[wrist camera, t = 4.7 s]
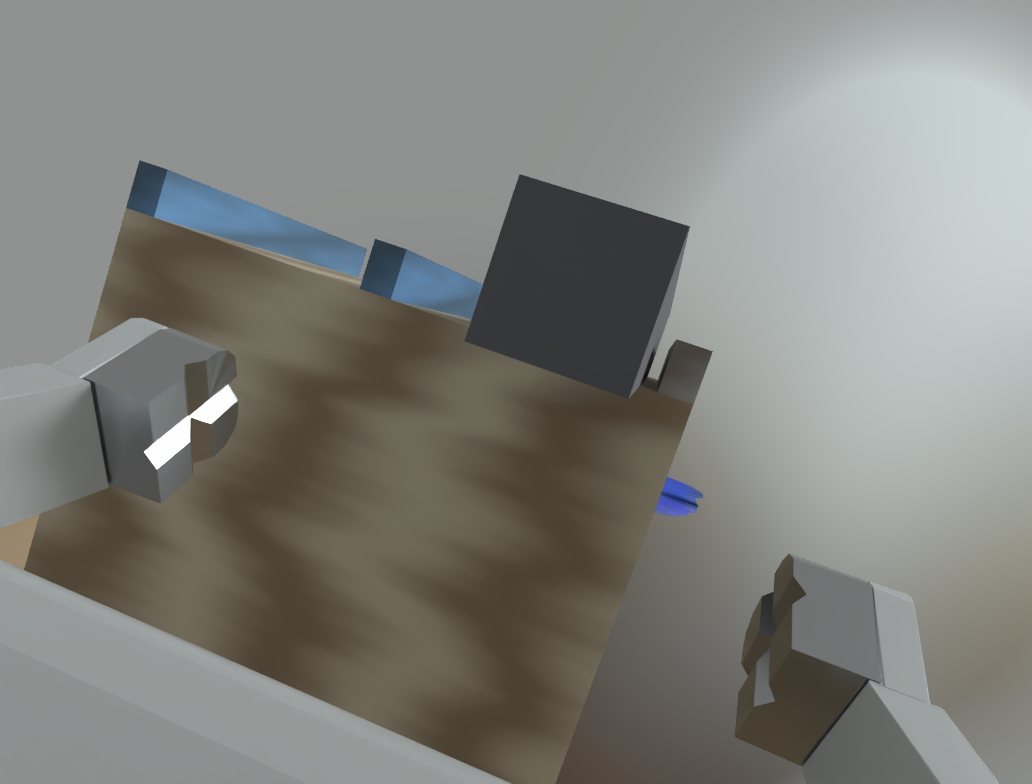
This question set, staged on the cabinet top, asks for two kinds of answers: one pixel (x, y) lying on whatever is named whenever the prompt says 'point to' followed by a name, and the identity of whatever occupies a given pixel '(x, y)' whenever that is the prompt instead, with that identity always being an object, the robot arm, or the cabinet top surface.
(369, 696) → the riser
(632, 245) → the dark grey piece
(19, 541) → the cabinet top surface
